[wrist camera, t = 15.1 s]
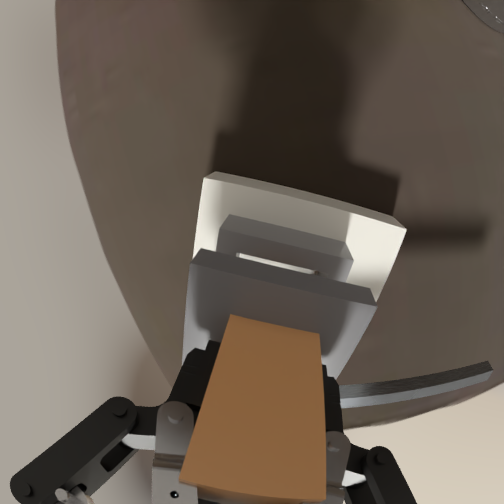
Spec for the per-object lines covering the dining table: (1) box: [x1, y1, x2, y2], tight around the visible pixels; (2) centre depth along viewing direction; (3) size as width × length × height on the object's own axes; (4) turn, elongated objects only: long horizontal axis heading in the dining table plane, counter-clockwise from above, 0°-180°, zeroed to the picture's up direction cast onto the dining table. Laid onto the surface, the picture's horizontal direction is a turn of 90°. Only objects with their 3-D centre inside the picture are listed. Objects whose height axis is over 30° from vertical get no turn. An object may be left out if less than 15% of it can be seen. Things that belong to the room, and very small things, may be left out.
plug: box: [179, 248, 378, 504], centre depth 11 cm, size 8×8×12 cm
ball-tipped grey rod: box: [339, 361, 493, 408], centre depth 16 cm, size 18×2×1 cm, turn 95°
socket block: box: [193, 171, 407, 301], centre depth 21 cm, size 20×14×8 cm
